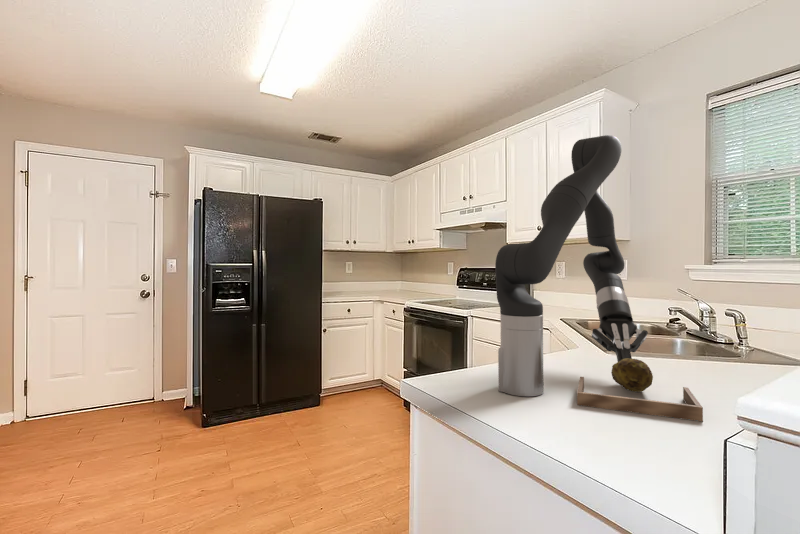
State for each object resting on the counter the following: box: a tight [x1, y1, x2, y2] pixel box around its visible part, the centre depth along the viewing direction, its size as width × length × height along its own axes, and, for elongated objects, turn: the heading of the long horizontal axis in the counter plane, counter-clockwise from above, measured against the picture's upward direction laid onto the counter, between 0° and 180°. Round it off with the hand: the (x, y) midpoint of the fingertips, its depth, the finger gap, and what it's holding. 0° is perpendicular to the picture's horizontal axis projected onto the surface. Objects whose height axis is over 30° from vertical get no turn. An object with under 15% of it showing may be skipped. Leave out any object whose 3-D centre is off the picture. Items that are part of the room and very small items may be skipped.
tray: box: [576, 376, 704, 422], centre depth 83 cm, size 21×14×2 cm, turn 64°
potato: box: [610, 358, 654, 393], centre depth 90 cm, size 8×13×8 cm, turn 148°
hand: (625, 364), depth 95 cm, fingers closed
